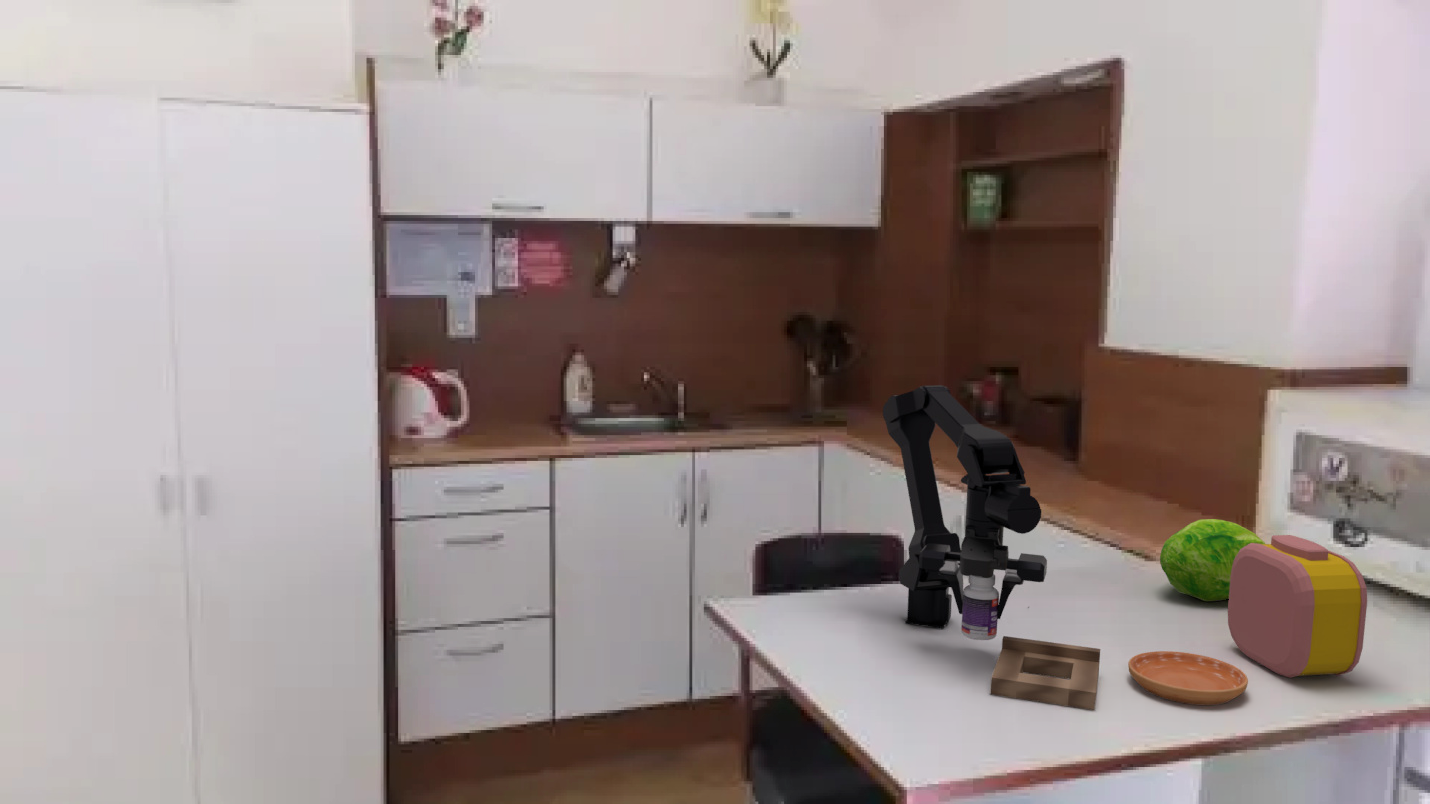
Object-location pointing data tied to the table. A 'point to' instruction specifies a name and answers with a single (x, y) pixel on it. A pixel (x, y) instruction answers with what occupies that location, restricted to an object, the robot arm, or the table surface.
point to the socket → (1047, 672)
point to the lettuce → (1204, 557)
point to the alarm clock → (1297, 607)
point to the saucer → (1187, 677)
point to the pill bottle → (980, 608)
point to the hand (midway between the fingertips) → (979, 616)
